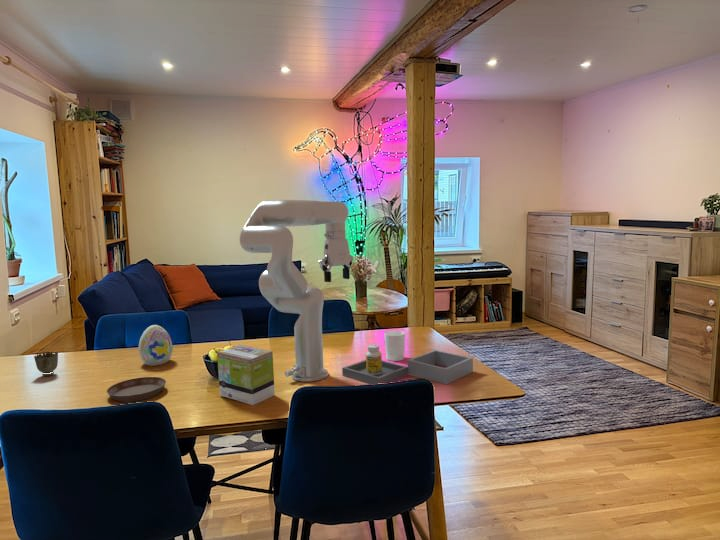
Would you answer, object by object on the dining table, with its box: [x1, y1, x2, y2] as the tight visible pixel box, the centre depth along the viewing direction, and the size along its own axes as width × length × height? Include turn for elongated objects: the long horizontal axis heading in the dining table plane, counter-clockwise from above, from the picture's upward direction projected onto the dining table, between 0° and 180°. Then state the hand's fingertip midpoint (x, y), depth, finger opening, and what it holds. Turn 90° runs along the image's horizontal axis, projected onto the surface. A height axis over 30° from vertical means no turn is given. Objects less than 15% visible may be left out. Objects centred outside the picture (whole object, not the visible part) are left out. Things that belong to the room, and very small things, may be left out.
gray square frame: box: [407, 349, 474, 385], centre depth 176 cm, size 16×16×5 cm
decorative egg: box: [138, 324, 174, 367], centre depth 197 cm, size 12×12×15 cm
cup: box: [33, 351, 59, 377], centre depth 186 cm, size 8×7×8 cm
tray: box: [341, 359, 409, 385], centre depth 175 cm, size 15×17×3 cm
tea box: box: [216, 344, 275, 406], centre depth 159 cm, size 15×10×15 cm, turn 56°
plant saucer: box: [106, 376, 167, 403], centre depth 165 cm, size 18×18×3 cm
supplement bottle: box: [365, 344, 382, 375], centre depth 175 cm, size 5×5×10 cm
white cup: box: [383, 330, 406, 362], centre depth 193 cm, size 8×8×10 cm
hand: (337, 280), depth 194 cm, fingers open, 9 cm apart
